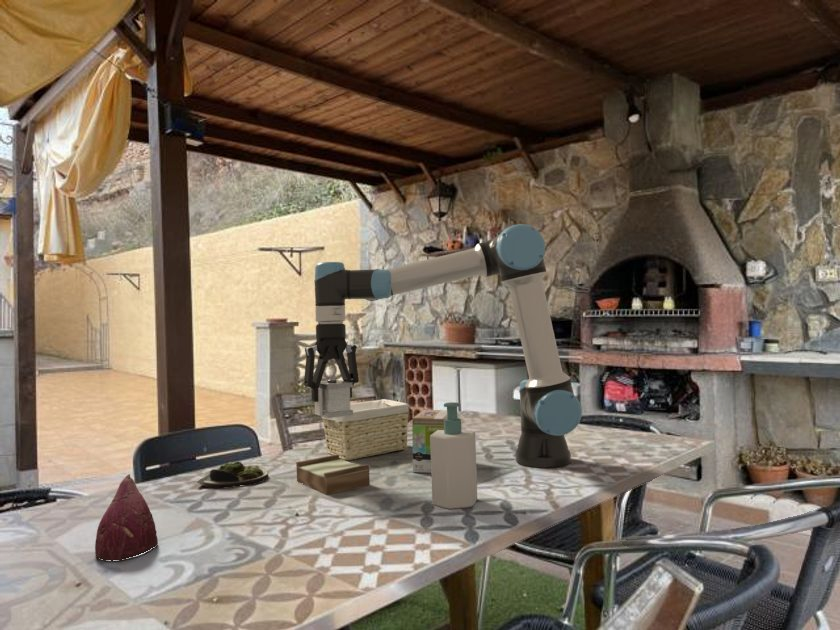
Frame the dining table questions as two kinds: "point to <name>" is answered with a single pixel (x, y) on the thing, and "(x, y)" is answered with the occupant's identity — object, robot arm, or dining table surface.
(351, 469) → the stand
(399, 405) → the storage basket
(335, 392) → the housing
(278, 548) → the dining table surface
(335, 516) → the dining table surface
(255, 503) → the dining table surface
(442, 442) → the soap bottle
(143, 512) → the vegetable
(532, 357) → the robot arm
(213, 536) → the dining table surface
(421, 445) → the tea box
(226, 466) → the salad plate
